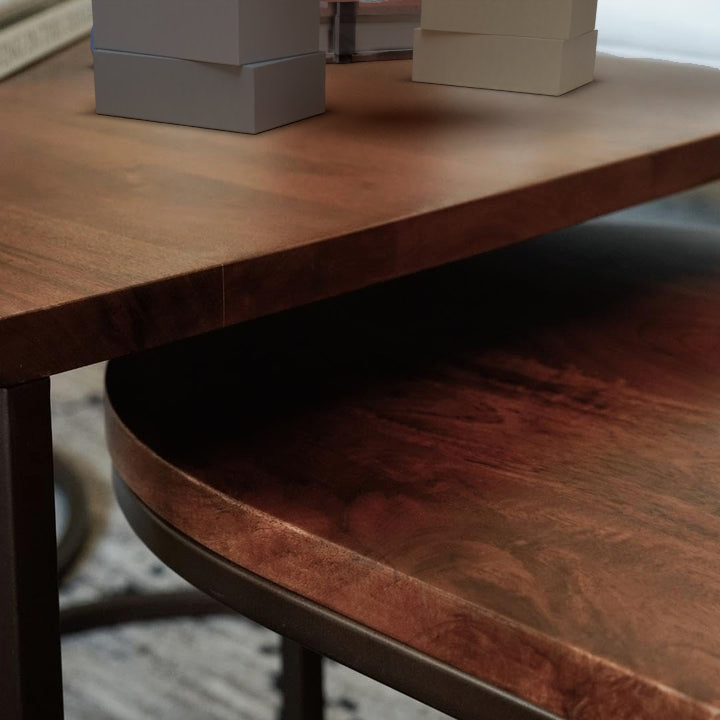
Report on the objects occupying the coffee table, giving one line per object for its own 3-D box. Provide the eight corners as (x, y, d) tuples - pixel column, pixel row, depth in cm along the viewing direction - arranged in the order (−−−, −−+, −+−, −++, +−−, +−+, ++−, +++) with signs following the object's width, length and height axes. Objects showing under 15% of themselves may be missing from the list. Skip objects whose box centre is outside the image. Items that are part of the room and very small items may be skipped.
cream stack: (597, 81, 94) (607, -24, 91) (560, 97, 86) (570, -17, 83) (456, 67, 99) (461, -32, 96) (409, 81, 91) (413, -26, 88)
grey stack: (326, 112, 78) (328, -14, 75) (251, 135, 70) (249, -4, 67) (174, 94, 83) (170, -24, 80) (87, 114, 75) (79, -17, 72)
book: (207, 70, 93) (205, 6, 92) (130, 44, 107) (127, -13, 105) (472, 56, 106) (476, -2, 104) (373, 34, 120) (374, -17, 118)
